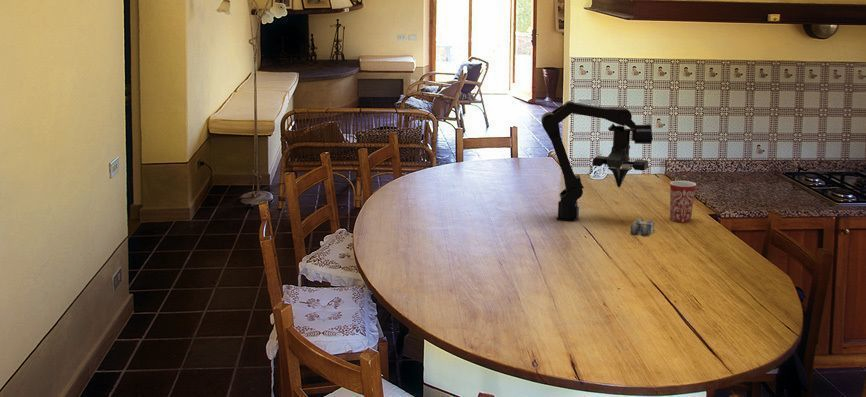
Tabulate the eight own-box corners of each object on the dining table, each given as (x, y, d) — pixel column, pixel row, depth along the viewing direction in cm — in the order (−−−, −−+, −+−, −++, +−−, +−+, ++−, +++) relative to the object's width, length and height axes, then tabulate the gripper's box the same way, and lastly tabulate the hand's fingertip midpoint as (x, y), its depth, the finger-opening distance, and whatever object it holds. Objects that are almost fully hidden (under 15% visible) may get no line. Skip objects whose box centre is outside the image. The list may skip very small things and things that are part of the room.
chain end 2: (640, 235, 294) (640, 225, 294) (646, 229, 302) (647, 219, 301) (647, 236, 293) (648, 226, 292) (654, 230, 301) (654, 220, 300)
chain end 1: (629, 234, 296) (630, 224, 295) (636, 227, 304) (637, 218, 303) (637, 235, 295) (637, 225, 294) (643, 228, 303) (644, 219, 302)
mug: (696, 223, 310) (698, 186, 306) (670, 223, 310) (672, 185, 307) (688, 214, 322) (691, 178, 319) (663, 214, 322) (665, 178, 319)
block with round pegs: (632, 232, 299) (633, 220, 298) (635, 230, 302) (636, 218, 301) (650, 234, 296) (651, 222, 295) (652, 232, 299) (653, 220, 298)
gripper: (587, 144, 306) (586, 188, 310) (640, 149, 297) (638, 194, 301) (598, 140, 316) (596, 182, 319) (650, 144, 307) (647, 188, 310)
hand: (619, 186), depth 312 cm, fingers closed
